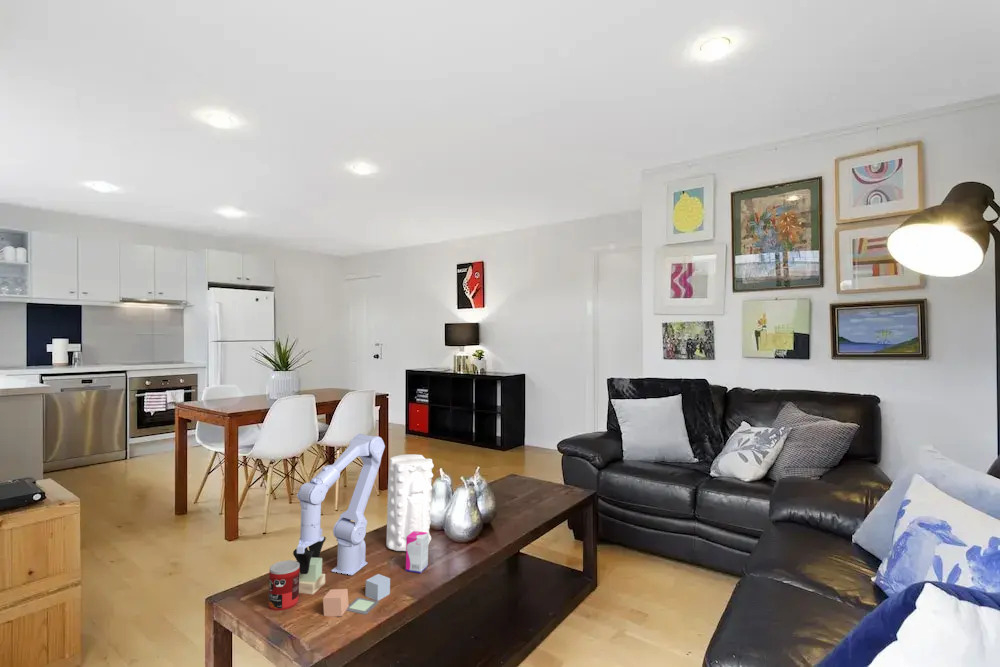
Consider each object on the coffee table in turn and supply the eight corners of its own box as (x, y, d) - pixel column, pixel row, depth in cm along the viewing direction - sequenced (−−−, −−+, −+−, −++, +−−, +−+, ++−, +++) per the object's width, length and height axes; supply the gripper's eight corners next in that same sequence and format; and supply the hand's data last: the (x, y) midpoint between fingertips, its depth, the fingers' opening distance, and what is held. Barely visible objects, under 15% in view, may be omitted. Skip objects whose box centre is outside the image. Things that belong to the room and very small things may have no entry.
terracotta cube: (331, 607, 144) (330, 589, 144) (348, 606, 143) (347, 588, 143) (324, 616, 139) (322, 598, 139) (341, 616, 138) (340, 597, 138)
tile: (357, 598, 149) (357, 596, 149) (379, 602, 147) (379, 601, 147) (343, 610, 142) (344, 608, 142) (365, 615, 140) (365, 613, 140)
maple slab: (304, 582, 158) (304, 571, 158) (325, 585, 157) (325, 573, 157) (291, 593, 151) (291, 581, 151) (312, 596, 150) (312, 584, 150)
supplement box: (428, 566, 171) (429, 532, 171) (421, 573, 165) (422, 538, 165) (412, 563, 173) (413, 530, 173) (404, 571, 167) (405, 536, 167)
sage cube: (305, 573, 157) (306, 557, 157) (321, 574, 157) (322, 557, 157) (299, 581, 152) (299, 564, 152) (315, 581, 152) (316, 565, 152)
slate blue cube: (377, 590, 154) (378, 573, 154) (389, 595, 151) (390, 578, 152) (365, 597, 150) (365, 580, 150) (377, 602, 147) (377, 585, 147)
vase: (420, 532, 200) (422, 451, 200) (438, 547, 186) (440, 460, 187) (378, 540, 191) (381, 456, 191) (394, 557, 177) (396, 465, 178)
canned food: (264, 604, 145) (265, 565, 145) (292, 594, 150) (293, 557, 150) (274, 615, 139) (275, 574, 139) (303, 604, 145) (304, 566, 145)
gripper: (314, 532, 147) (312, 579, 147) (332, 515, 162) (330, 557, 161) (290, 531, 147) (288, 578, 147) (310, 514, 162) (309, 556, 162)
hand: (309, 567), depth 154 cm, fingers open, 7 cm apart
